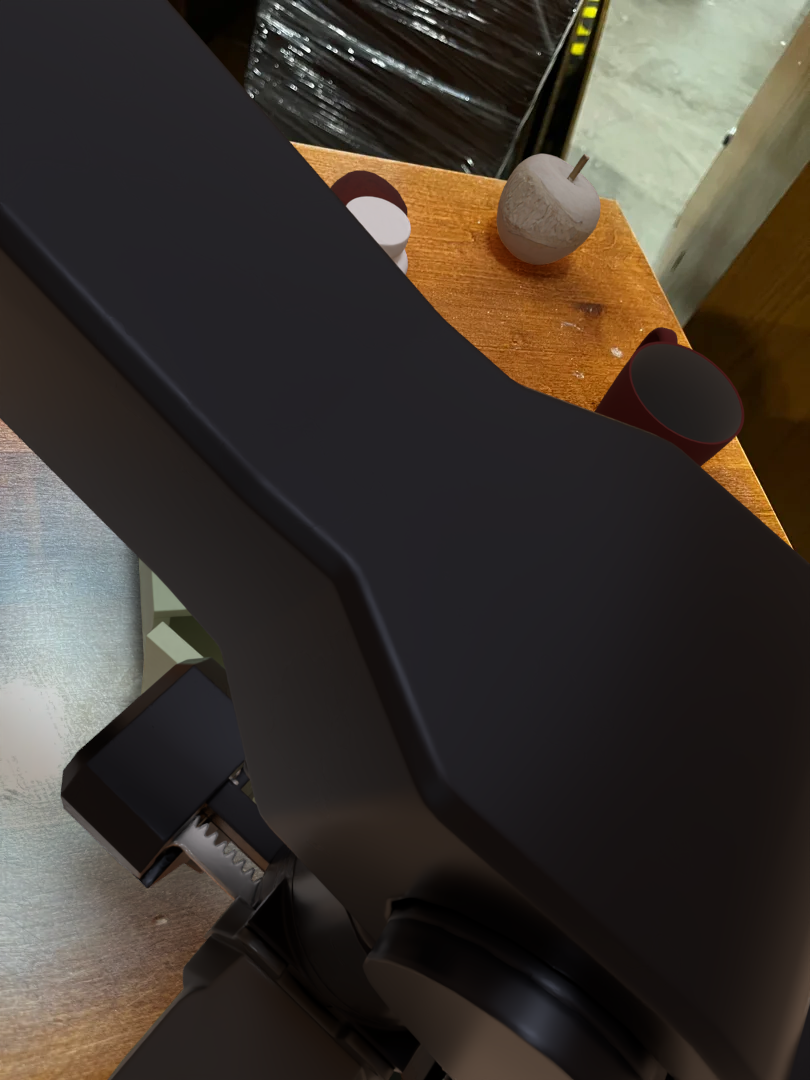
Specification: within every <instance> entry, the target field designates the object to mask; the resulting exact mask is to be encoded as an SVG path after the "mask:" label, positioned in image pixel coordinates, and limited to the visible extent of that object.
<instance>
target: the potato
mask: <svg viewBox="0 0 810 1080" xmlns="http://www.w3.org/2000/svg"><path fill="white" fill-rule="evenodd" d="M330 188H331V190H332V191H333V192H334V193H335V194H336V195H337V196H338V198H339V199H340V200H341V201H342V202H343V203H344V205H345V206H346V205H347V204H348V203H349V202H350V201H352V200H353V199H355V198H359V197H376V198H380V199H383V200H386V201H388V202H390V203H392V204H394V205H396V206H397V207H398V208H399V209H401V210H402V211H403V212H404V214H405V215H406V216H407V217H408V207H407V205H406V202H405V200H404V199H403V197H402V195H401V193H400V192H399V191H398V189H396V187H394V186H393V185H392V183H390V182H389V181H388V180H387V179H385V178H384V177H383V176H380V175H378V174H377V173H376V172H372V171H369V170H365V169H364V170H362V169H361V170H360V169H359V170H357V169H355V170H352V171H349V172H347V173H345V174H344V175H342V176H341V177H340V178H337V179H336V180H335V181H334V182H333V184H332V185H331V186H330Z"/></svg>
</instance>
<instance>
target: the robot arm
mask: <svg viewBox="0 0 810 1080" xmlns="http://www.w3.org/2000/svg"><path fill="white" fill-rule="evenodd" d="M594 411H595V410H591V409H589V408H585V407H583V406H580V405H577V404H574V403H572V402H569V401H566V400H564V399H561V398H558V397H556V396H553V395H550V394H548V393H545V392H542V391H540V390H537V389H535V388H531V387H530V386H529V387H528V386H526V385H523V384H522V383H519V382H517V381H516V380H514V379H512V378H511V377H510V376H509V375H508V374H506V372H504V371H503V370H502V369H501V368H500V367H499V366H498V365H496V364H495V363H494V362H493V361H492V359H490V358H489V357H487V356H486V355H485V354H484V353H483V352H482V351H481V350H480V349H479V348H477V347H476V346H475V345H474V344H473V343H472V342H471V341H470V340H468V339H467V338H466V337H465V336H464V335H463V334H462V333H461V332H459V331H458V330H457V329H456V328H455V327H454V326H453V325H452V324H451V323H449V322H448V321H447V320H446V319H445V317H443V316H442V315H441V314H440V312H439V311H438V310H437V309H436V308H435V307H434V306H433V305H432V303H431V302H430V301H429V300H428V299H427V298H426V296H424V294H423V293H422V292H421V290H419V289H418V288H417V286H416V285H415V284H414V283H413V281H411V279H410V278H409V277H408V276H407V274H406V275H405V274H404V273H403V271H402V270H401V269H400V268H399V267H398V266H397V265H396V263H395V262H394V261H393V260H392V259H391V258H390V256H389V255H388V254H387V253H386V252H385V251H384V250H383V248H382V247H381V246H380V245H379V244H378V243H377V241H376V240H375V239H374V238H373V237H372V236H371V235H370V233H369V232H368V231H367V230H366V229H365V228H364V226H363V225H362V224H361V223H360V222H359V221H358V220H357V218H356V217H355V216H354V215H353V214H352V213H351V211H350V210H349V209H348V208H347V207H346V206H345V205H344V203H343V202H342V201H341V200H340V199H339V198H338V196H337V195H336V194H335V193H334V192H333V191H332V190H331V186H329V185H328V183H326V181H325V180H324V179H323V178H322V176H321V175H320V174H318V172H317V171H316V169H314V167H313V166H312V165H311V164H310V163H309V162H308V160H307V159H306V158H305V157H304V156H303V155H302V154H301V152H300V151H299V150H298V149H297V148H296V146H295V145H294V144H293V143H292V142H291V141H290V140H289V138H287V137H286V135H285V134H284V133H283V131H281V129H280V128H279V127H278V126H277V125H276V124H275V122H274V121H273V120H272V119H271V118H270V117H269V115H267V113H266V112H265V111H264V110H263V108H262V107H260V105H259V104H258V102H256V100H255V99H254V98H253V97H252V96H251V94H249V92H248V91H247V90H246V89H245V88H244V87H243V85H241V83H240V82H239V80H237V78H235V76H234V75H233V74H232V73H231V72H230V71H229V69H228V68H227V67H226V66H225V65H224V64H223V62H222V61H221V60H220V59H219V58H218V57H217V55H215V53H214V52H213V51H212V50H211V49H210V47H209V46H208V45H207V44H206V43H205V42H204V40H203V39H201V37H200V36H199V34H197V32H196V31H195V30H194V29H193V28H192V27H191V25H189V24H188V22H187V21H186V19H184V18H183V16H182V14H180V12H179V11H177V9H176V8H175V7H174V6H173V5H172V4H171V2H170V1H169V0H0V420H1V422H3V423H4V424H5V425H6V426H7V427H8V428H9V429H10V430H11V432H13V433H14V434H15V436H17V437H18V438H19V439H20V440H21V441H22V442H23V444H25V445H26V446H27V447H28V449H30V450H31V451H32V452H33V453H34V454H35V455H36V456H37V457H38V458H39V459H40V460H41V462H43V463H44V465H46V466H47V467H48V468H49V469H50V471H52V473H53V474H54V475H56V476H57V477H58V478H59V479H60V480H61V481H62V482H63V484H65V485H66V487H67V488H69V490H70V491H72V492H73V494H75V495H76V496H77V498H79V500H81V502H83V503H84V505H86V506H87V508H88V509H90V511H91V512H92V513H93V514H95V516H97V517H98V519H99V520H101V522H103V524H104V525H105V526H107V527H108V529H109V530H111V532H113V534H114V535H115V536H116V537H118V539H119V540H120V541H121V542H122V543H123V544H124V545H126V547H127V548H129V550H130V551H131V552H132V553H133V554H134V555H135V556H136V557H137V558H138V560H139V559H140V560H141V561H142V562H143V563H144V564H145V565H146V566H147V567H148V568H149V569H150V570H151V571H152V572H153V573H154V574H155V575H156V576H157V577H158V578H159V579H160V580H161V581H162V582H163V583H164V584H165V585H166V586H167V587H168V589H169V590H170V591H171V592H172V593H173V594H174V595H175V597H176V598H177V599H178V600H179V601H180V602H181V603H182V605H183V606H184V607H185V608H186V609H187V610H188V611H189V613H190V614H191V615H192V616H193V617H194V618H195V619H196V621H197V622H198V623H199V624H200V625H201V626H202V627H203V629H204V630H205V631H206V632H207V633H208V634H209V635H210V637H211V638H212V639H213V640H214V641H215V642H216V643H217V645H218V646H219V649H220V651H221V653H222V658H223V662H224V667H225V669H224V668H223V667H222V666H221V665H220V664H219V663H218V662H217V661H216V660H214V659H213V658H212V657H206V658H195V659H187V660H184V661H182V662H180V663H178V664H175V665H174V666H173V667H172V668H171V669H170V670H169V671H167V672H166V673H165V674H164V675H163V676H162V677H161V678H160V679H158V680H157V681H156V682H155V683H154V684H153V685H152V686H151V687H149V688H148V689H147V690H146V691H145V692H144V693H143V694H142V695H141V694H140V695H139V696H138V697H137V698H136V699H135V700H134V701H132V702H130V704H128V706H127V707H125V709H123V710H122V711H121V712H120V713H118V715H117V716H115V717H114V718H113V719H112V720H111V721H110V722H109V723H107V724H106V725H105V726H104V727H103V728H102V729H101V730H100V731H99V732H98V733H96V734H95V735H94V736H93V737H92V738H91V739H90V740H88V742H86V743H85V744H84V745H82V746H81V748H80V749H78V750H77V752H76V753H75V754H74V755H73V757H72V758H71V759H70V760H69V761H68V763H67V765H65V767H64V768H63V770H62V777H61V786H60V794H59V795H60V800H61V803H62V804H61V805H62V808H63V810H65V812H67V813H68V814H69V816H71V818H72V819H74V820H75V821H76V822H77V823H78V825H80V826H81V827H82V828H83V829H84V830H85V831H86V832H87V833H88V834H89V835H90V836H91V837H92V838H93V839H94V840H95V841H96V842H97V843H98V844H99V845H100V846H101V847H102V848H103V849H104V850H105V851H106V852H107V853H108V854H109V855H110V856H111V857H112V858H113V859H114V860H115V861H116V862H117V863H118V864H119V865H120V866H121V867H123V868H124V869H125V870H127V871H128V872H129V873H131V874H132V876H134V877H135V879H136V880H138V882H139V883H141V885H143V886H144V887H145V888H146V889H149V888H152V886H155V884H157V883H159V882H160V881H161V880H163V879H165V878H166V877H167V876H168V875H170V874H171V873H173V872H174V871H176V870H177V869H178V868H180V867H181V866H183V865H185V866H186V867H188V868H189V869H192V870H193V871H195V872H196V873H197V874H199V875H203V874H204V873H205V874H206V875H207V876H208V877H209V878H210V879H211V880H212V881H213V882H214V883H215V884H216V885H217V886H219V888H220V889H222V890H223V892H225V894H227V896H229V897H230V898H231V899H232V902H231V903H230V905H229V906H228V907H227V908H226V909H225V910H224V912H223V913H221V915H220V916H219V918H218V919H217V920H216V921H215V922H214V923H213V925H211V927H209V929H208V930H207V932H206V933H205V934H204V935H203V939H205V941H203V943H202V944H201V946H200V947H199V948H198V949H197V950H196V952H195V953H194V954H193V955H192V956H191V957H190V958H189V960H188V961H187V962H186V963H185V964H184V966H183V968H182V988H183V989H181V991H180V992H179V993H178V994H177V995H176V996H175V997H174V998H173V1000H172V1001H171V1002H170V1003H169V1004H168V1006H167V1007H166V1008H165V1009H164V1011H162V1013H161V1014H160V1015H159V1016H158V1017H157V1019H156V1020H155V1021H154V1022H153V1023H152V1024H151V1026H150V1027H149V1028H148V1029H147V1031H146V1032H144V1034H143V1035H142V1036H141V1038H140V1039H138V1041H137V1042H136V1043H135V1044H134V1046H132V1048H131V1049H129V1051H128V1052H127V1053H126V1054H125V1056H124V1057H123V1058H122V1059H121V1061H120V1062H119V1063H118V1064H117V1066H116V1067H115V1069H114V1070H113V1072H112V1073H110V1075H109V1077H108V1078H107V1080H390V1079H391V1078H392V1076H393V1074H394V1072H396V1073H399V1075H400V1076H401V1080H810V562H809V561H808V560H806V559H805V558H804V557H803V556H802V555H800V553H799V552H798V551H796V550H795V549H794V548H793V547H791V545H789V544H788V543H787V542H786V541H785V540H784V539H783V538H782V537H781V536H779V535H778V534H777V533H776V532H775V531H774V530H772V529H771V528H770V527H769V526H768V524H766V523H765V522H763V520H761V519H760V517H758V516H757V515H755V513H754V512H752V511H751V509H749V508H748V507H747V506H746V505H745V504H743V503H742V502H741V501H740V500H739V499H738V498H737V497H735V496H734V495H733V494H732V493H731V492H730V491H729V490H727V489H726V488H725V487H724V486H723V485H722V484H721V483H720V482H719V481H717V480H716V479H715V478H714V477H713V476H712V475H711V474H709V473H708V472H707V471H706V470H705V469H704V468H703V467H702V466H701V467H700V466H699V465H698V464H697V463H696V462H695V461H694V460H692V459H691V458H690V457H689V456H688V455H687V454H686V453H685V452H683V451H682V450H681V449H680V448H678V447H677V446H676V445H674V444H673V443H671V442H669V441H667V440H665V439H663V438H661V437H659V436H657V435H655V434H653V433H651V432H648V431H645V430H642V429H640V428H637V427H634V426H632V425H629V424H626V423H624V422H621V421H618V420H615V419H613V418H610V417H607V416H605V415H602V414H599V413H596V412H594ZM253 798H255V802H256V803H255V802H253V801H252V800H253ZM230 843H232V844H233V845H234V846H235V847H236V848H237V849H238V850H239V851H240V852H242V853H243V855H245V856H246V857H247V858H248V860H250V861H251V862H252V863H253V864H254V865H255V866H256V867H257V868H258V869H259V870H261V872H262V876H260V877H259V878H256V879H255V880H253V877H254V874H255V873H256V868H255V867H250V868H249V869H247V870H246V871H244V868H245V865H246V864H247V863H246V862H247V860H246V859H245V858H242V859H240V860H238V861H236V862H234V860H235V858H236V855H237V853H238V851H237V850H236V849H235V848H234V849H232V850H231V851H229V852H227V853H225V851H226V849H227V847H228V846H229V844H230Z"/></svg>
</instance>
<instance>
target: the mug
mask: <svg viewBox="0 0 810 1080" xmlns="http://www.w3.org/2000/svg"><path fill="white" fill-rule="evenodd" d="M678 339H679V338H678V335H677V333H676V331H674V329H671V328H668V327H663V326H659V327H655V328H653V329H652V330H651V331H650V332H649V333H648V334H646V336H645V337H644V338H643V340H642V341H641V342H640V343H639V345H638V346H637V347H636V349H635V350H634V352H633V353H632V355H631V356H630V357H629V359H628V361H626V363H625V364H624V366H623V367H622V368H621V370H620V371H619V373H618V374H617V375H616V377H615V378H614V380H613V381H612V383H611V385H610V386H609V387H608V389H607V390H606V392H605V394H604V396H602V398H601V400H600V402H599V403H598V404H597V406H596V408H595V410H593V411H594V412H596V413H599V414H602V415H605V416H607V417H610V418H613V419H615V420H618V421H621V422H624V423H626V424H629V425H632V426H634V427H637V428H640V429H642V430H645V431H648V432H651V433H653V434H655V435H657V436H659V437H661V438H663V439H665V440H667V441H669V442H671V443H673V444H674V445H676V446H677V447H678V448H680V449H681V450H682V451H683V452H685V453H686V454H687V455H688V456H689V457H690V458H691V459H692V460H694V461H695V462H696V463H697V464H698V465H699V466H700V467H701V468H702V466H704V465H705V464H707V462H709V461H710V460H711V459H713V457H715V456H716V455H717V454H718V453H720V452H721V451H722V450H723V449H724V448H725V447H726V446H727V445H729V444H730V443H731V442H733V440H734V439H735V438H736V437H737V436H738V435H739V434H740V432H741V431H742V428H743V426H744V423H745V409H744V405H743V400H742V398H741V396H740V394H739V392H738V389H737V388H736V386H735V385H734V383H733V381H732V380H731V379H730V377H729V376H728V375H727V374H726V373H725V372H724V371H723V370H722V369H721V368H720V367H719V366H718V365H717V364H716V363H715V362H714V361H712V360H711V359H709V358H708V357H707V356H705V355H704V354H702V353H700V352H698V351H696V350H694V349H692V348H690V347H689V346H686V345H682V344H680V343H679V341H678Z"/></svg>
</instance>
